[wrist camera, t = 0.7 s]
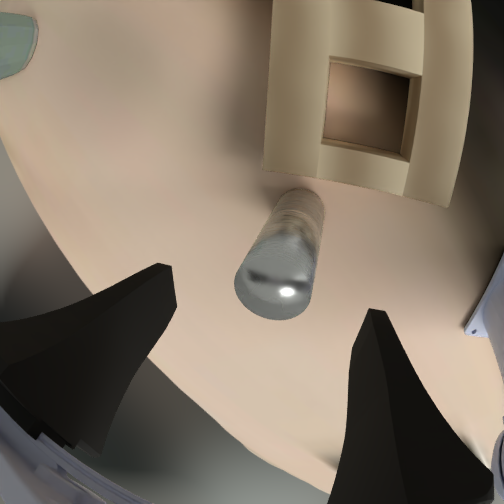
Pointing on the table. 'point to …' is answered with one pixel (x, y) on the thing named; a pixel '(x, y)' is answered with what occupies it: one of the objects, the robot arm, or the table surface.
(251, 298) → the pin
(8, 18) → the disposable coffee cup
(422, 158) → the socket block
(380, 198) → the table surface
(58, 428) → the robot arm
